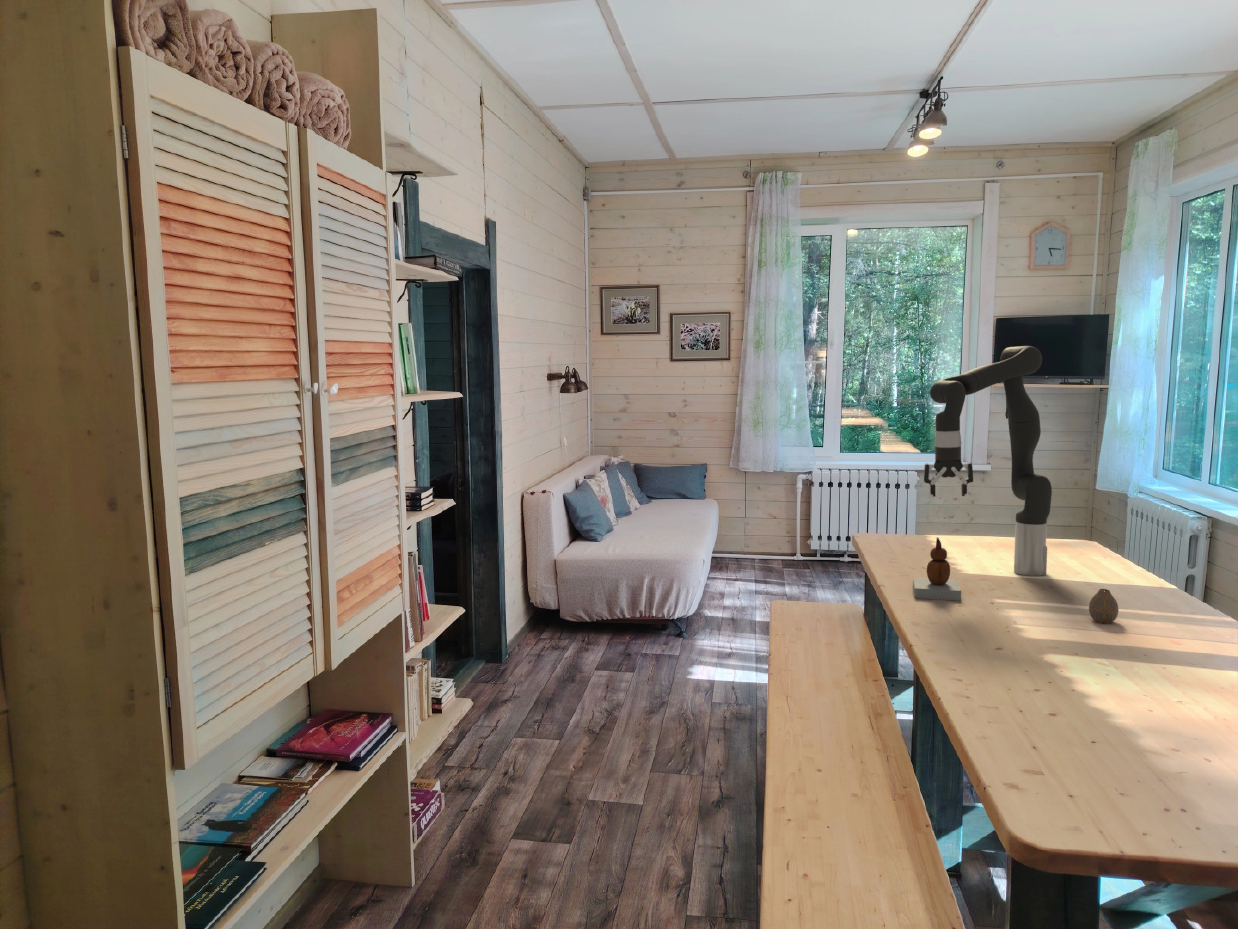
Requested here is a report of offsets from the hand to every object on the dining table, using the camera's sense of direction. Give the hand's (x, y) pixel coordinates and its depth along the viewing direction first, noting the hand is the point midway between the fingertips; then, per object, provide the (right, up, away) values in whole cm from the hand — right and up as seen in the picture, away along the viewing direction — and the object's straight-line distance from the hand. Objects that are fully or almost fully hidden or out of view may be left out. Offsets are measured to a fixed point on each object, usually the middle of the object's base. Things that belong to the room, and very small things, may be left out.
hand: (948, 496), depth 254 cm
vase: (+28, -33, -35) cm, 55 cm away
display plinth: (-6, -30, -5) cm, 31 cm away
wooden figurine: (-5, -27, -5) cm, 28 cm away
